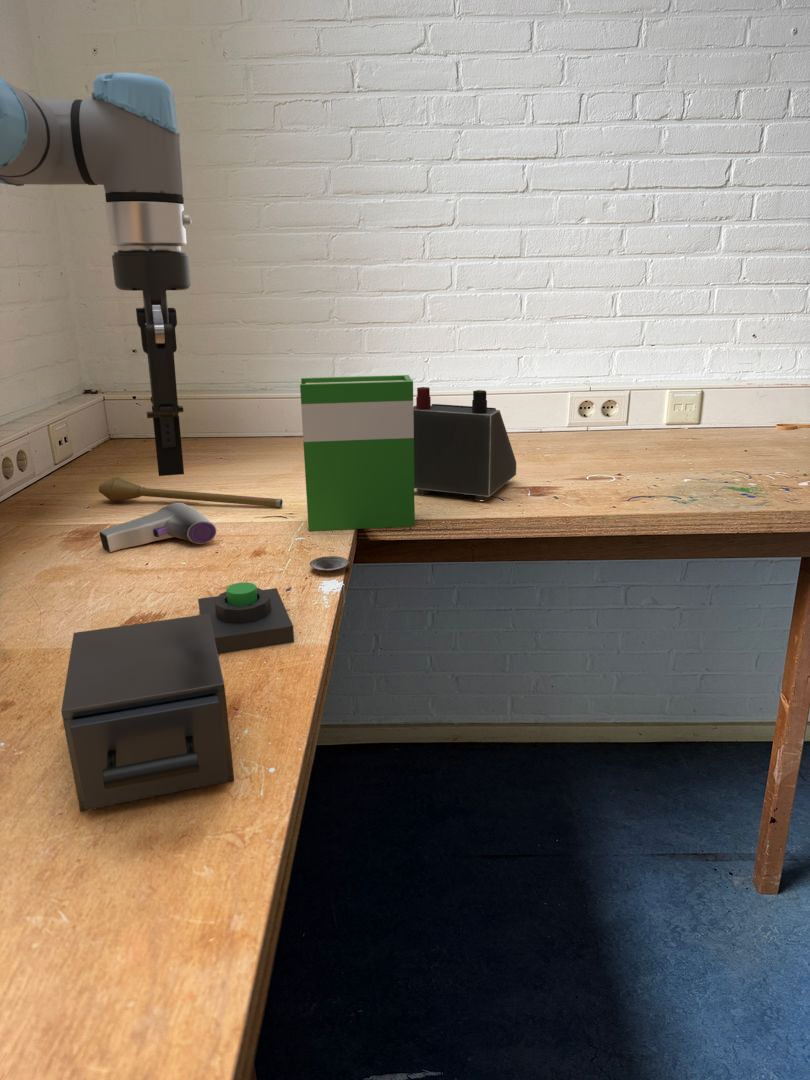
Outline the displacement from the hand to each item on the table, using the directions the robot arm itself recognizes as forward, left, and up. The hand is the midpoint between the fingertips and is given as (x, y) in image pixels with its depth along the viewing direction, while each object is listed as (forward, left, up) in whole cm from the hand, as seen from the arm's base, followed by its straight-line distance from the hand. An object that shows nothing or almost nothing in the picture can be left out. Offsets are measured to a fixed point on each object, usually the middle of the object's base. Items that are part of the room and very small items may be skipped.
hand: (171, 473), depth 89 cm
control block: (0, +7, -20) cm, 21 cm away
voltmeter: (-48, +55, -20) cm, 75 cm away
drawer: (+27, -4, -19) cm, 34 cm away
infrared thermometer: (-35, -2, -20) cm, 40 cm away
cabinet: (+23, -4, -20) cm, 31 cm away
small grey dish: (-15, +21, -20) cm, 32 cm away
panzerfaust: (-56, +4, -20) cm, 60 cm away
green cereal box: (-35, +31, -20) cm, 51 cm away
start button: (0, +7, -17) cm, 18 cm away
